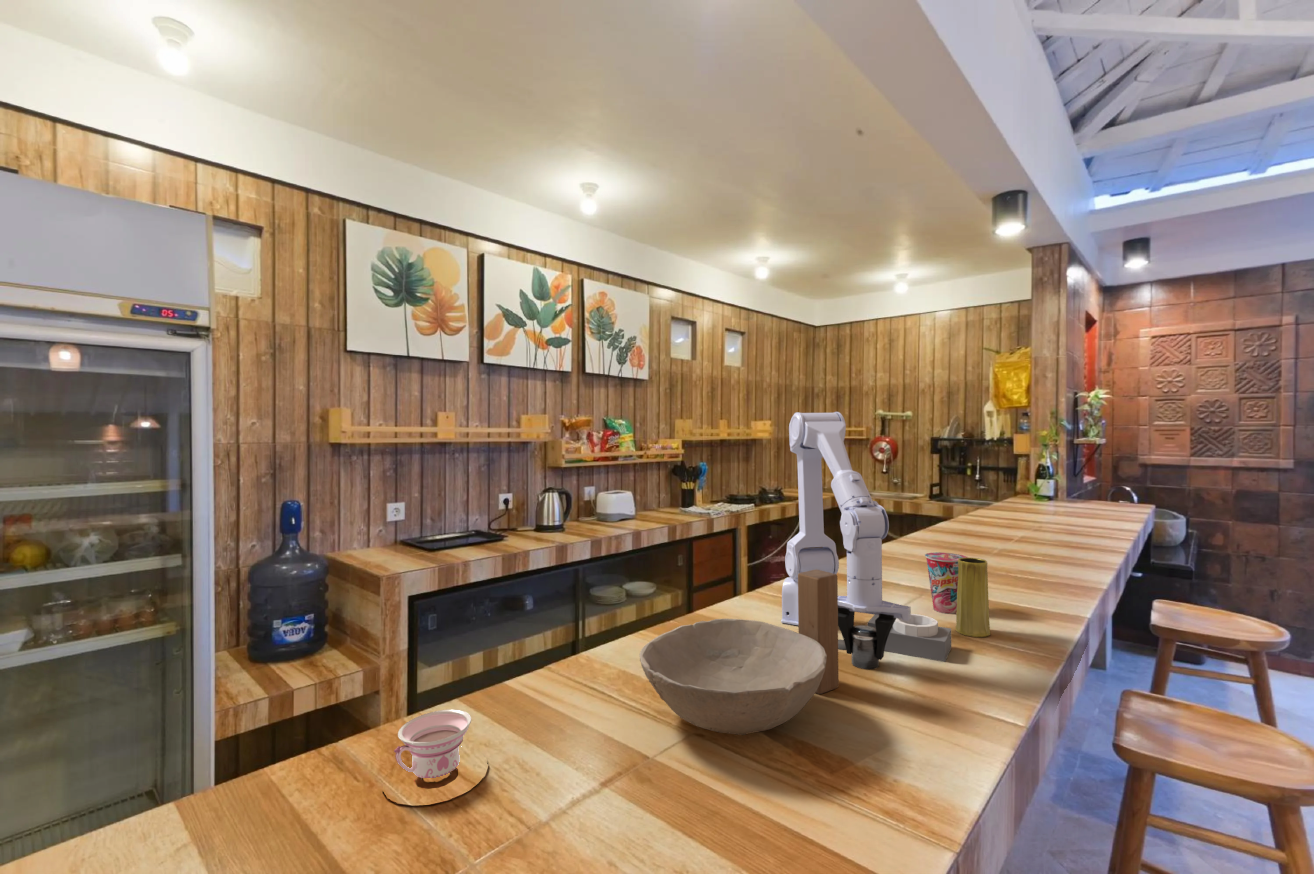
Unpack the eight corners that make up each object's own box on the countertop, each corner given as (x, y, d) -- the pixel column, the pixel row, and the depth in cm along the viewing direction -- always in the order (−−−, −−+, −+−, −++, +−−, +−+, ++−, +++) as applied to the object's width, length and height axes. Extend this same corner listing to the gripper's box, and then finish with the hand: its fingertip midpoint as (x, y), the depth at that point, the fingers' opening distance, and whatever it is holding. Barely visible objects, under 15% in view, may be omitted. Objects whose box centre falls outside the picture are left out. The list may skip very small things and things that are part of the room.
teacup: (453, 740, 80) (452, 694, 80) (509, 772, 73) (508, 721, 73) (362, 782, 71) (361, 730, 71) (415, 823, 64) (413, 765, 63)
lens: (848, 665, 103) (847, 630, 103) (855, 657, 107) (854, 622, 107) (875, 671, 100) (875, 634, 100) (881, 662, 104) (881, 627, 104)
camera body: (867, 647, 111) (867, 619, 111) (878, 634, 118) (877, 608, 118) (945, 661, 104) (944, 631, 104) (951, 647, 111) (951, 618, 111)
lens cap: (825, 648, 112) (825, 645, 112) (832, 640, 116) (832, 637, 116) (851, 653, 109) (851, 650, 109) (858, 645, 113) (858, 642, 113)
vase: (982, 627, 121) (981, 556, 121) (996, 638, 115) (995, 563, 115) (950, 626, 122) (950, 556, 122) (963, 637, 116) (962, 563, 116)
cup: (928, 614, 130) (927, 559, 130) (922, 603, 138) (922, 551, 138) (976, 617, 127) (975, 561, 127) (967, 606, 135) (967, 553, 135)
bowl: (671, 787, 69) (670, 700, 69) (623, 690, 95) (622, 627, 94) (870, 751, 76) (870, 672, 76) (775, 670, 102) (774, 611, 101)
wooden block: (777, 675, 99) (776, 567, 99) (796, 669, 102) (795, 563, 101) (820, 695, 92) (818, 578, 92) (839, 688, 94) (838, 573, 94)
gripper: (815, 575, 104) (816, 654, 104) (904, 587, 96) (905, 671, 96) (827, 567, 110) (828, 641, 110) (912, 577, 102) (913, 657, 102)
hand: (865, 654), depth 104 cm, fingers closed on lens, 4 cm apart
